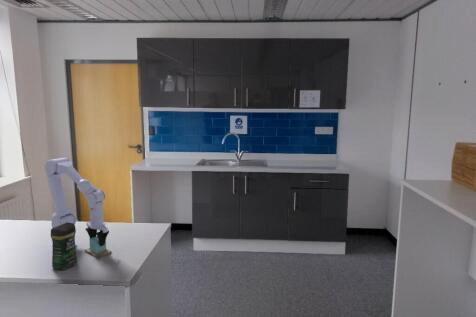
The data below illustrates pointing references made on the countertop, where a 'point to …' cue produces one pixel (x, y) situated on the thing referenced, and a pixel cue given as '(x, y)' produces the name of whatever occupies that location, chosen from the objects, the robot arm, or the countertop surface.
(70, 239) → the coffee jar
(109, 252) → the brown rectangular board
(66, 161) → the robot arm
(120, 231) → the countertop surface
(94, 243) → the teal matte cube
